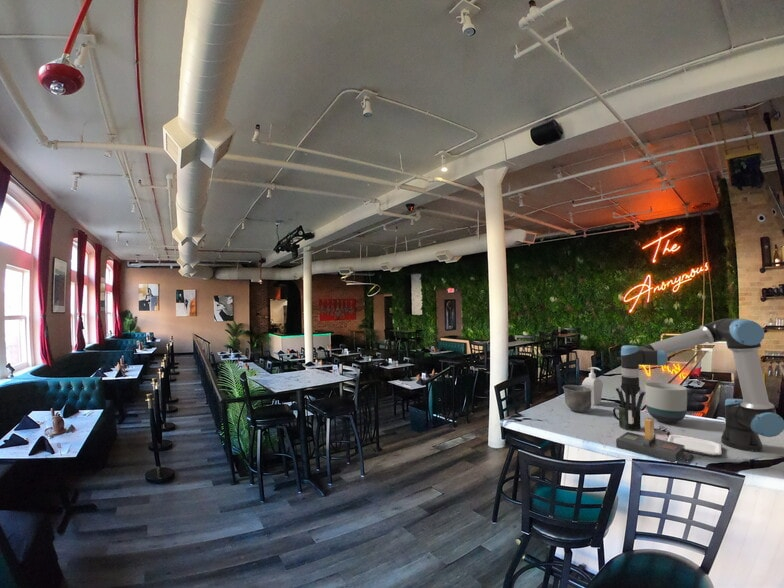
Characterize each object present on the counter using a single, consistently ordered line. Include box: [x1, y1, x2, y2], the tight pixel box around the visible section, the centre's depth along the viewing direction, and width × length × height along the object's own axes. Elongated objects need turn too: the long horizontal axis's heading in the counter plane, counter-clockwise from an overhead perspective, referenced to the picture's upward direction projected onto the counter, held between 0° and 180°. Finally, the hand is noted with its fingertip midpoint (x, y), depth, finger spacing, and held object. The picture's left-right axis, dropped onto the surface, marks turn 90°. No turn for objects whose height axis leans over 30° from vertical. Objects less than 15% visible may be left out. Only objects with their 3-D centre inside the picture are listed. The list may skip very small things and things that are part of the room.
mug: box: [612, 404, 642, 432], centre depth 212 cm, size 11×15×12 cm
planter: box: [644, 381, 688, 424], centre depth 222 cm, size 20×20×21 cm
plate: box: [666, 434, 723, 457], centre depth 183 cm, size 21×21×2 cm
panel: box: [615, 431, 686, 463], centre depth 179 cm, size 24×16×7 cm, turn 40°
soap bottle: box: [581, 366, 604, 406], centre depth 261 cm, size 12×10×26 cm
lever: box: [644, 417, 655, 442], centre depth 179 cm, size 2×8×11 cm, turn 130°
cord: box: [685, 453, 694, 463], centre depth 169 cm, size 1×10×1 cm, turn 131°
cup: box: [562, 384, 592, 413], centre depth 245 cm, size 18×18×15 cm
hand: (631, 423), depth 185 cm, fingers closed
